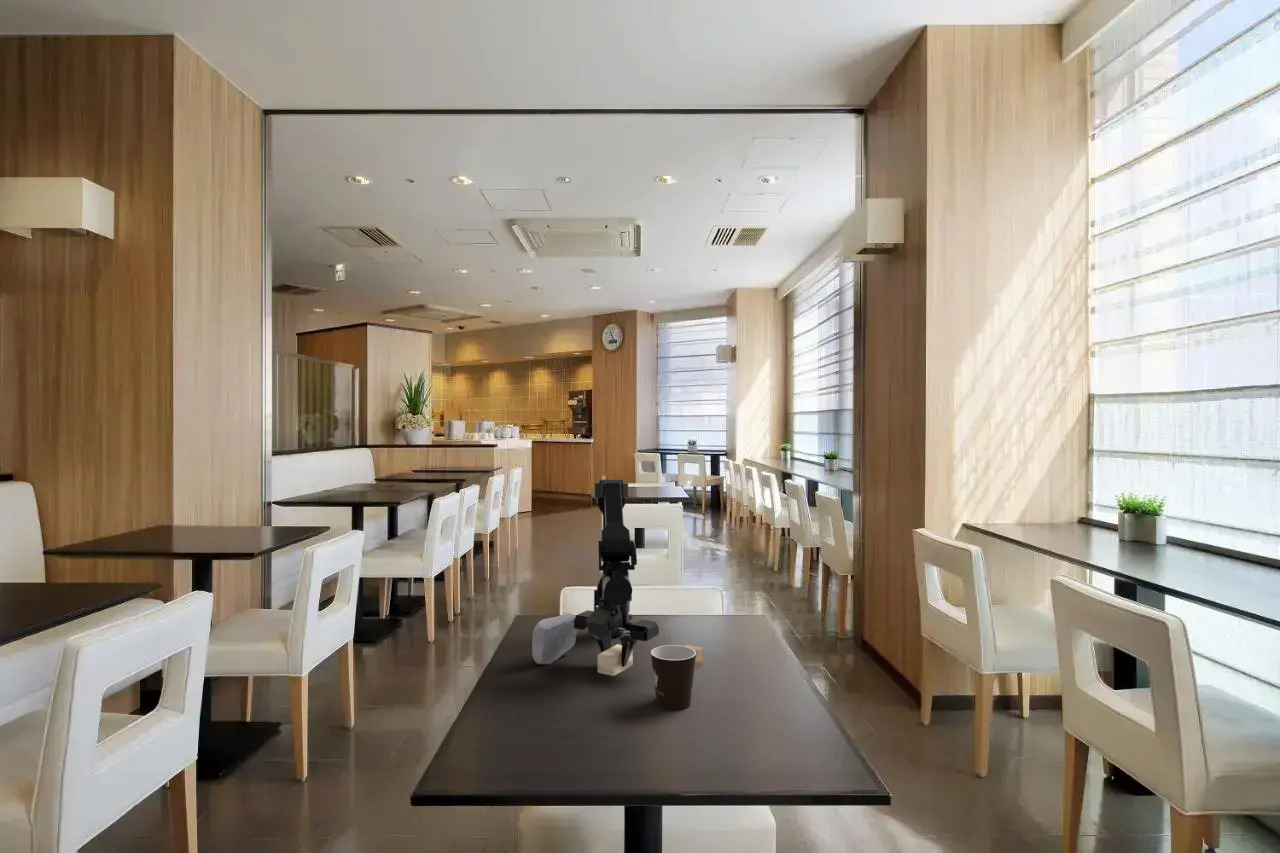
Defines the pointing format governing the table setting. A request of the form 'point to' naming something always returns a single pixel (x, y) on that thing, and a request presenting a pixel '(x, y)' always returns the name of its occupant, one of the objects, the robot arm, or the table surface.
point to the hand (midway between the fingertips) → (615, 664)
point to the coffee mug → (673, 676)
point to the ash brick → (613, 661)
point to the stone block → (553, 638)
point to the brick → (697, 656)
